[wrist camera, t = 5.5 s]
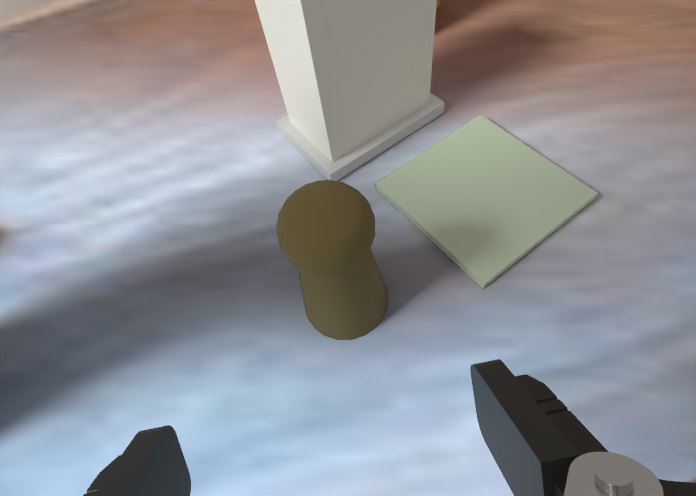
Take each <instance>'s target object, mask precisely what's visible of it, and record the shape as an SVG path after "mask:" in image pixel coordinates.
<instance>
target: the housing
mask: <svg viewBox="0 0 696 496" xmlns="http://www.w3.org/2000/svg"><path fill="white" fill-rule="evenodd" d="M255 3H256V6H257V10H258V13H259V16H260V20H261V23H262V27H263V30H264V34H265V37H266V40H267V44H268V47H269V51H270V54H271V58H272V61H273V65H274V68H275V71H276V75H277V78H278V82H279V85H280V89H281V92H282V95H283V99H284V102H285V106H286V109H287V113H288V114H287V115H285V116H283V117H281V118H280V119H278V120H276V124H277V127H278V130H279V131H280V132H281V133H282V134H283V135H284V136H285V137H286V138H287V139H288V140H289V141H290V142H291V143H292V144H293V145H294V146H295V147H296V148H297V149H298V150H299V151H300V152H301V153H302V154H303V155H304V156H305V157H306V158H307V159H308V160H309V161H310V162H311V163H312V165H313V166H314V167H315V168H316V169H317V170H318V171H319V172H320V173H321V174H322V175H323V176H324V177H325V178H326V179H327V180H333V181H338V180H339V179H341V178H342V177H344V176H346V175H347V174H349V173H350V172H352V171H353V170H355V169H357V168H358V167H360V166H361V165H363V164H364V163H366V162H368V161H369V160H371V159H372V158H374V157H375V156H377V155H379V154H380V153H382V152H383V151H385V150H386V149H388V148H390V147H391V146H393V145H394V144H396V143H397V142H399V141H400V140H402V139H404V138H405V137H407V136H408V135H410V134H411V133H413V132H415V131H416V130H418V129H419V128H421V127H422V126H424V125H426V124H427V123H429V122H430V121H432V120H433V119H435V118H437V117H438V116H440V115H441V114H443V113H444V107H445V102H444V101H442V100H441V99H439V98H438V97H436V96H435V95H433V94H432V93H431V92H430V86H431V72H432V59H433V45H434V32H435V18H436V5H437V0H255Z"/></svg>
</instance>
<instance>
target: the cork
mask: <svg viewBox="0 0 696 496" xmlns="http://www.w3.org/2000/svg"><path fill="white" fill-rule="evenodd" d="M277 235H278V239H279V243H280V246H281V248H282V250H283V252H284V253H285V255H286V256H287V258H288V259H289V260H290V262H291V263H293V264H294V265H295V266H297V267H298V269H299V275H300V281H301V287H302V293H303V299H304V305H305V309H306V313H307V317H308V319H309V321H310V322H311V323H312V325H313V326H314V328H315V329H317V330H318V331H319V332H321V333H322V334H323V335H325V336H328V337H331V338H334V339H337V340H349V339H355V338H358V337H361V336H364V335H366V334H367V333H369V332H370V331H371V330H373V329H374V328H375V327H376V326H377V325H378V324H379V322H380V321H381V320H382V318H383V317H384V314H385V311H386V308H387V305H388V304H387V291H386V288H385V285H384V283H383V280H382V278H381V275H380V272H379V270H378V267H377V264H376V262H375V259H374V256H373V254H372V251H371V249H370V248H371V245H372V242H373V240H374V237H375V218H374V214H373V212H372V209H371V207H370V205H369V203H368V201H367V199H366V198H365V197H364V196H363V195H362V194H361V193H360V192H359V191H358V190H356V189H355V188H353V187H351V186H349V185H347V184H345V183H343V182H338V181H333V180H324V181H316V182H313V183H310V184H306V185H304V186H303V187H301V188H299V189H298V190H296V191H295V192H294V193H293V194H292V195H291V196H290V197H289V198H288V199H287V200H286V202H285V203H284V205H283V207H282V209H281V211H280V213H279V215H278V222H277Z"/></svg>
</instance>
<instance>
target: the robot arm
mask: <svg viewBox="0 0 696 496" xmlns="http://www.w3.org/2000/svg"><path fill="white" fill-rule="evenodd" d="M471 378H472V384H473V391H474V398H475V405H476V412H477V418H478V423H479V426H480V430H481V433H482V435H483V438H484V440H485V442H486V444H487V446H488V448H489V450H490V452H491V454H492V455H493V457H494V459H495V461H496V463H497V465H498V466H499V468H500V470H501V472H502V474H503V476H504V478H505V479H506V481H507V483H508V485H509V487H510V489H511V491H512V492H513V494H514V496H696V483H689V482H674V481H665V480H660V479H657V477H656V476H655V475H654V474H653V473H652V472H651V471H650V470H649V469H647V468H646V467H645V466H643V465H642V464H640V463H639V462H637V461H635V460H633V459H631V458H628V457H625V456H623V455H619V454H615V453H610V452H608V451H607V450H606V449H605V448H604V447H603V446H602V445H601V443H600V442H599V441H598V440H597V439H596V438H595V437H594V436H593V435H592V434H591V433H590V432H589V431H588V430H587V429H586V428H585V426H584V425H583V424H582V423H581V422H580V421H579V420H578V419H577V418H576V417H575V416H574V415H573V414H572V413H571V412H570V411H568V409H567V407H566V406H565V405H564V404H563V403H562V402H561V401H560V400H558V399H557V397H556V396H555V395H554V393H553V392H552V391H551V390H550V389H549V388H548V387H547V386H546V385H545V384H544V383H542V382H540V381H538V380H536V379H534V378H532V377H530V376H528V375H526V374H525V375H520V376H516V377H515V376H514V375H513V374H512V373H511V371H510V370H509V369H508V368H507V367H506V365H505V364H504V363H503V362H502V361H501V360H500V359H498V360H493V361H488V362H483V363H478V364H473V365H471ZM190 491H191V479H190V474H189V471H188V468H187V465H186V462H185V459H184V456H183V453H182V450H181V447H180V444H179V441H178V438H177V435H176V432H175V430H174V429H173V427H171V426H169V425H168V426H163V427H158V428H153V429H148V430H143V431H140V432H138V433H137V434H136V436H135V437H134V438H133V440H132V441H131V443H130V444H129V445H128V447H127V448H126V450H125V451H124V453H123V454H122V455H120V456H118V457H117V458H116V459H115V460H114V461H113V462H111V463H110V464H109V465H108V466H107V467H106V468H105V469H103V470H102V471H101V472H100V473H99V475H98V476H97V477H96V479H95V480H94V481H93V483H92V484H91V486H90V487H89V488H88V490H87V494H84V495H83V496H190Z"/></svg>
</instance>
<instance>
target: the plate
mask: <svg viewBox="0 0 696 496" xmlns="http://www.w3.org/2000/svg"><path fill="white" fill-rule="evenodd" d="M376 190H377V191H379V192H380V193H381V194H382V195H383V196H384V197H385V198H386V199H387V200H388V201H389V202H390V203H391V204H392V205H393V206H395V207H396V208H397V209H398V210H399V211H400V212H401V213H402V214H403V215H404V216H405V217H406V218H407V219H408V220H410V221H411V222H412V223H413V224H414V225H415V226H416V227H417V228H418V229H419V230H420V231H421V232H422V233H423V234H425V235H426V236H427V237H428V238H429V239H430V240H431V241H432V242H433V243H434V244H435V245H436V246H437V247H438V248H439V249H441V250H442V251H443V252H444V253H445V254H446V255H447V256H448V257H449V258H450V259H451V260H452V261H453V262H454V263H456V264H457V265H458V266H459V267H460V268H461V269H462V270H463V271H464V272H465V273H466V274H467V275H468V276H469V277H471V278H472V279H473V280H474V281H475V282H476V283H477V284H478V285H479V286H480V287H481V288H482V289H483V288H484V287H485V286H487V285H488V284H489V283H490V282H492V281H493V280H494V279H495V278H497V277H498V276H499V275H500V274H502V273H503V272H504V271H505V270H507V269H508V268H509V267H510V266H512V265H513V264H514V263H515V262H517V261H518V260H519V259H520V258H522V257H523V256H524V255H526V254H527V253H528V252H529V251H531V250H532V249H533V248H534V247H536V246H537V245H538V244H539V243H541V242H542V241H543V240H544V239H546V238H547V237H548V236H549V235H551V234H552V233H553V232H554V231H556V230H557V229H558V228H559V227H561V226H562V225H563V224H564V223H566V222H567V221H568V220H569V219H571V218H572V217H573V216H574V215H576V214H577V213H578V212H579V211H581V210H582V209H583V208H584V207H586V206H587V205H588V204H589V203H591V202H592V201H593V200H594V199H595V198H596V196H597V195H598V192H596V191H595V190H593V189H592V188H590V187H589V186H587V185H586V184H584V183H583V182H581V181H580V180H578V179H577V178H575V177H574V176H572V175H571V174H569V173H568V172H566V171H565V170H563V169H562V168H560V167H559V166H557V165H556V164H554V163H553V162H551V161H550V160H548V159H547V158H545V157H544V156H542V155H541V154H539V153H538V152H536V151H535V150H533V149H532V148H530V147H529V146H527V145H526V144H524V143H523V142H521V141H520V140H518V139H517V138H515V137H514V136H512V135H511V134H509V133H508V132H506V131H505V130H503V129H502V128H500V127H499V126H497V125H496V124H494V123H493V122H491V121H490V120H488V119H487V118H485V117H484V116H482V115H481V114H480V115H479V116H477V117H476V118H474V119H473V120H471V121H470V122H468V123H467V124H465V125H464V126H462V127H461V128H459V129H458V130H456V131H454V132H453V133H451V134H450V135H448V136H447V137H445V138H444V139H442V140H441V141H439V142H438V143H436V144H435V145H433V146H432V147H430V148H429V149H427V150H426V151H424V152H423V153H421V154H420V155H418V156H416V157H415V158H413V159H412V160H410V161H409V162H407V163H406V164H404V165H403V166H401V167H400V168H398V169H397V170H395V171H394V172H392V173H391V174H389V175H388V176H386V177H385V178H383V179H382V180H380V181H378V182H377V183H376Z"/></svg>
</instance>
